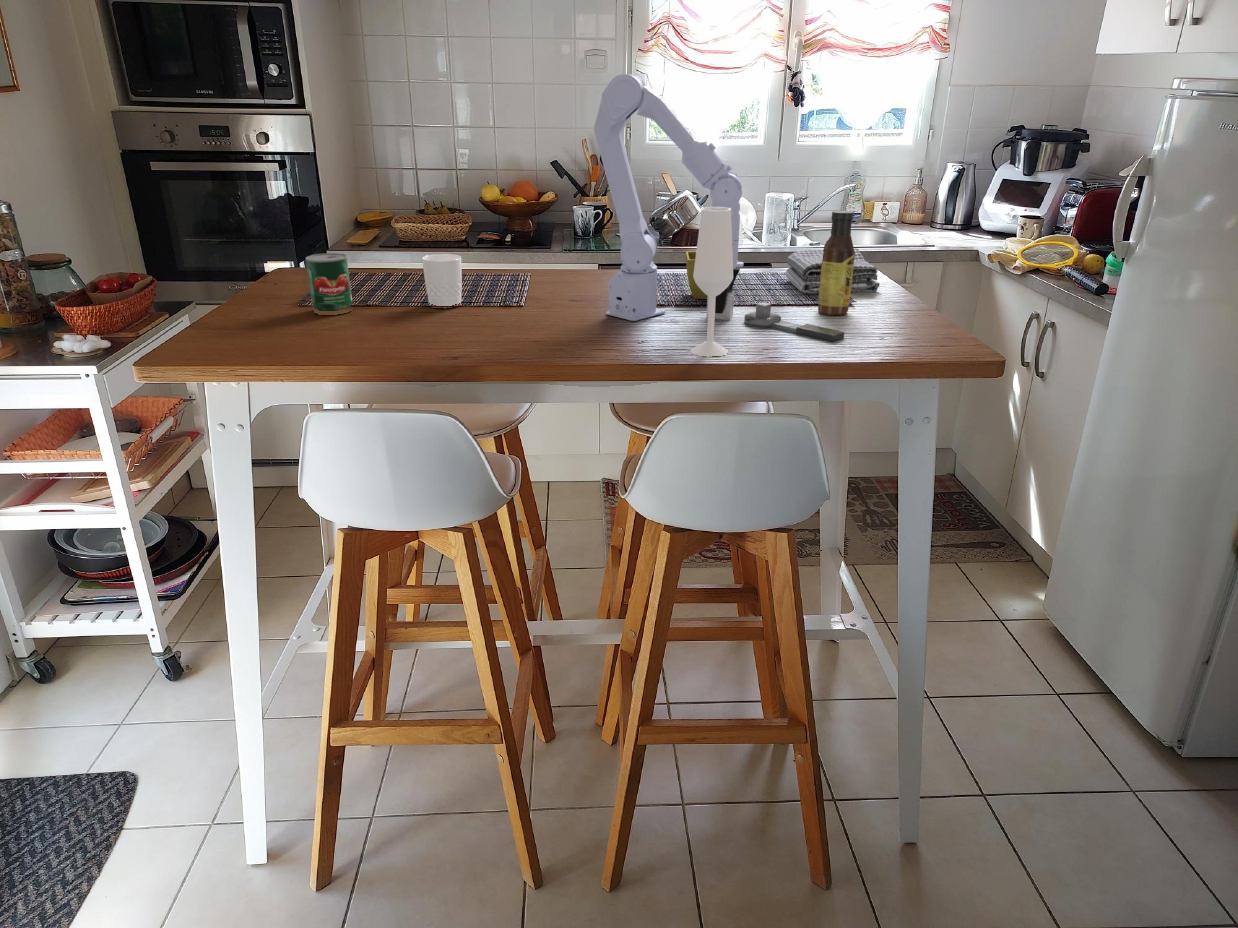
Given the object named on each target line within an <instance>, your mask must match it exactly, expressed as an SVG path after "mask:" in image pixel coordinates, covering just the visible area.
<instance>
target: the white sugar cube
mask: <svg viewBox="0 0 1238 928" xmlns="http://www.w3.org/2000/svg"><path fill="white" fill-rule="evenodd" d="M706 301H707V302H706V320H708V303H709V296H707V299H706ZM734 301H735V289H732V290H728V293H727V297H726V302H725V307H724V311H723V313H722V314H719V313H715V320H718V321H719V320H723V321H730V320H731V319H732V317H733V315H734V304H735V303H734Z"/></svg>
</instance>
